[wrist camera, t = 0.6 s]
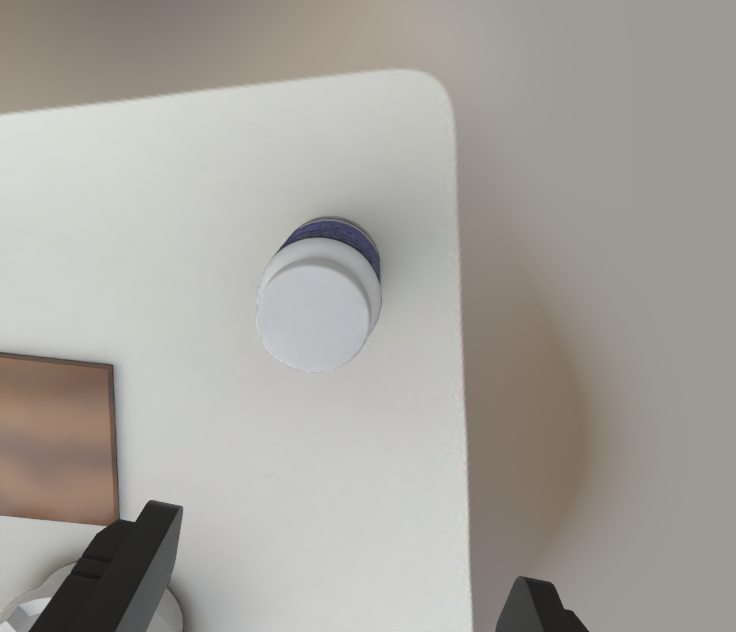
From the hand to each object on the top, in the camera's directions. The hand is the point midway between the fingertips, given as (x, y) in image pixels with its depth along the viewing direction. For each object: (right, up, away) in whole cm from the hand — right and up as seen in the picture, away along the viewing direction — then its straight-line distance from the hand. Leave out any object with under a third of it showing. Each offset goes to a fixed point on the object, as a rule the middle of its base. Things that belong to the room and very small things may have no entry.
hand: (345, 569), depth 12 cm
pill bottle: (-2, +9, +18) cm, 20 cm away
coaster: (-22, -2, +22) cm, 31 cm away
